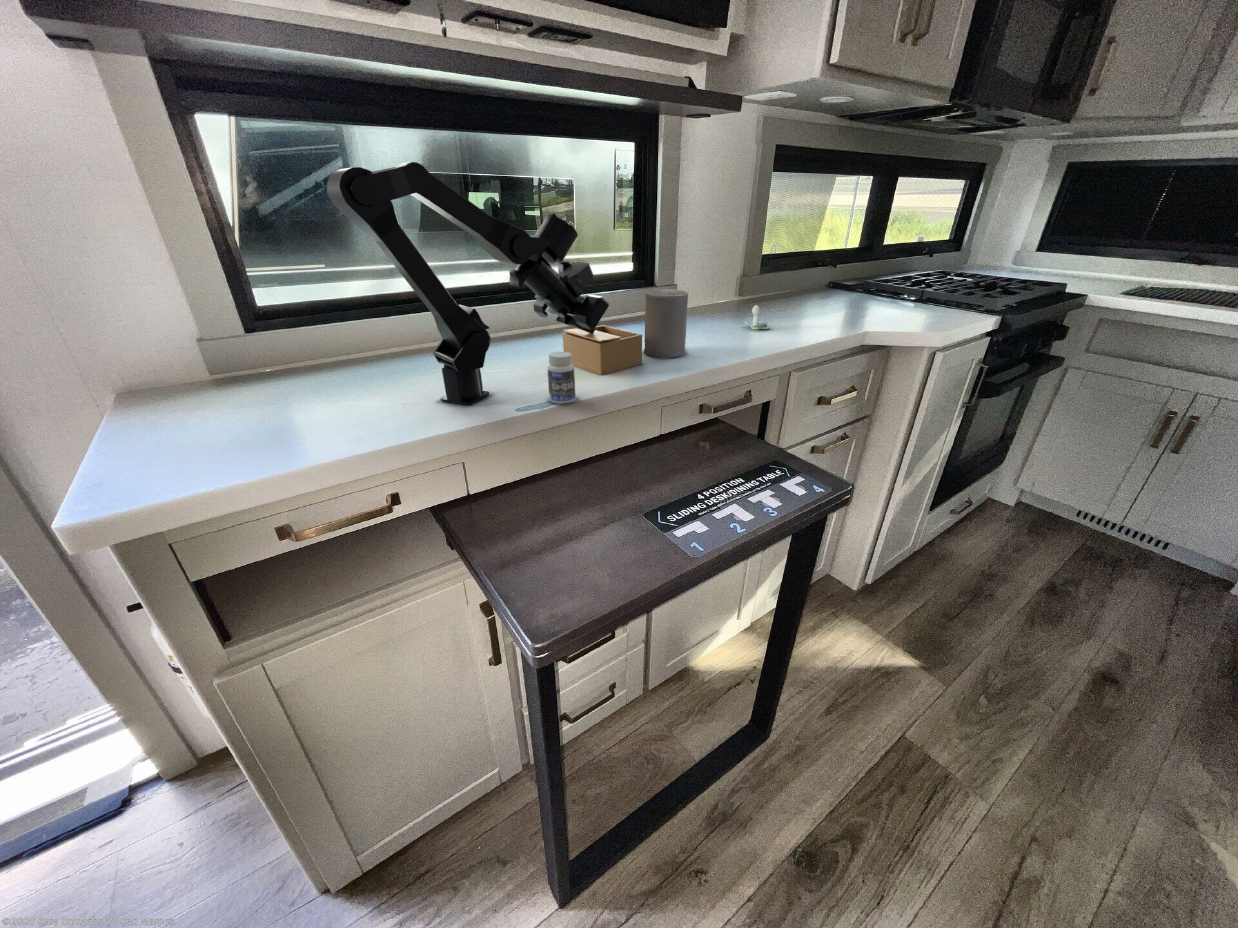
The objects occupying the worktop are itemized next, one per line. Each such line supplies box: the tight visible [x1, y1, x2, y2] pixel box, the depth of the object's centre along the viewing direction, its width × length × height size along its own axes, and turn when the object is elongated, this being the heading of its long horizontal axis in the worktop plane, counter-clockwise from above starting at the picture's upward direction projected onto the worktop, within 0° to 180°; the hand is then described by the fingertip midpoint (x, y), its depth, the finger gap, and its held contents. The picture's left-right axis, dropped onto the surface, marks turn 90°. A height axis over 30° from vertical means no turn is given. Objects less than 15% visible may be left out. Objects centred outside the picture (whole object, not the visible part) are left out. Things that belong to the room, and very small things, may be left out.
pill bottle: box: [547, 351, 576, 405], centre depth 90 cm, size 5×5×8 cm
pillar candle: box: [643, 285, 689, 359], centre depth 116 cm, size 10×10×15 cm
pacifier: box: [744, 304, 771, 330], centre depth 140 cm, size 7×6×6 cm
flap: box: [562, 328, 621, 342], centre depth 107 cm, size 6×13×1 cm, turn 42°
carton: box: [562, 324, 643, 376], centre depth 111 cm, size 12×13×6 cm
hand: (593, 331), depth 107 cm, fingers closed, pressing on flap
